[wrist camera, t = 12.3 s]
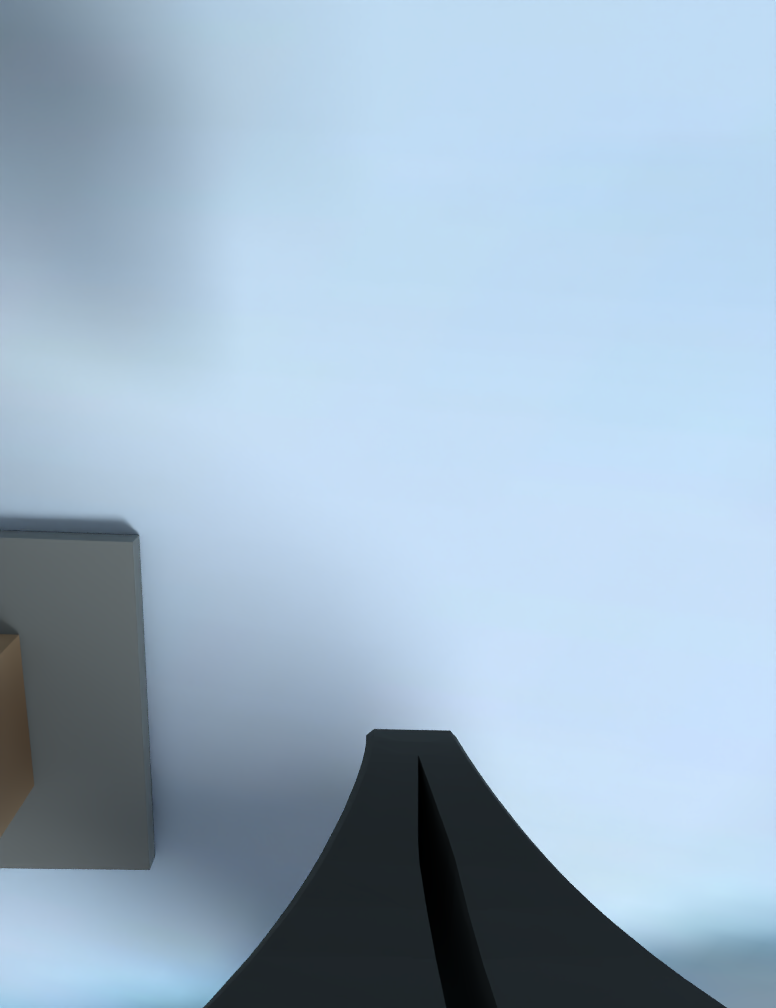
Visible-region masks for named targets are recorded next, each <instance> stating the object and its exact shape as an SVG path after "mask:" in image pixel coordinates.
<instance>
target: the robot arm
mask: <svg viewBox="0 0 776 1008" xmlns="http://www.w3.org/2000/svg"><path fill="white" fill-rule="evenodd" d="M203 1008H726V1007H725V1006H724V1005H722V1004H721V1003H719V1002H718V1001H716V1000H715V999H713V998H712V997H711V996H709V995H708V994H706V993H705V992H703V991H702V990H700V989H699V988H697V987H696V986H695V985H693V984H692V983H690V982H689V981H687V980H686V979H684V978H683V977H682V976H680V975H679V974H678V973H676V972H675V971H674V970H672V969H671V968H670V967H668V966H667V965H666V964H664V963H663V962H662V961H660V960H659V959H658V958H656V957H655V956H654V955H652V954H651V953H650V952H649V951H647V950H646V949H645V948H644V947H642V946H641V945H640V944H639V943H638V942H636V941H635V940H634V939H633V938H631V937H630V936H629V935H628V934H626V933H625V932H624V931H623V930H622V929H620V928H619V927H618V926H617V925H615V924H614V923H613V922H612V921H611V920H610V919H609V918H607V917H606V916H605V915H604V914H603V913H602V912H601V911H599V910H598V909H597V908H596V907H595V906H594V905H593V904H592V903H591V902H590V901H589V900H588V899H587V898H585V897H584V896H583V895H582V894H581V893H580V892H579V891H578V890H577V889H576V888H575V887H574V886H573V885H572V884H571V883H570V882H569V881H568V880H567V879H566V878H565V877H564V876H563V875H562V874H561V873H560V872H559V871H558V870H557V869H556V868H555V867H554V865H553V864H552V863H551V862H550V861H549V860H548V859H547V858H546V857H545V856H544V854H543V853H542V852H541V851H540V850H539V849H538V848H537V846H536V845H535V844H534V843H533V842H532V841H531V840H530V839H529V837H528V836H527V835H526V834H525V833H524V831H523V830H522V829H521V828H520V826H519V825H518V824H517V823H516V822H515V820H514V819H513V818H512V816H511V815H510V814H509V813H508V811H507V810H506V809H505V807H504V806H503V805H502V804H501V802H500V801H499V800H498V798H497V797H496V796H495V794H494V793H493V792H492V790H491V789H490V788H489V786H488V785H487V783H486V782H485V781H484V779H483V778H482V776H481V775H480V773H479V772H478V770H477V769H476V768H475V766H474V765H473V763H472V762H471V760H470V759H469V757H468V756H467V754H466V752H465V751H464V749H463V748H462V746H461V744H460V743H459V741H458V740H457V738H456V737H455V736H454V735H453V733H452V732H451V731H439V730H390V729H374V730H372V731H371V732H370V733H369V734H367V735H366V748H365V753H364V757H363V761H362V764H361V767H360V770H359V773H358V776H357V779H356V782H355V784H354V787H353V789H352V792H351V794H350V796H349V799H348V801H347V803H346V806H345V808H344V811H343V813H342V815H341V817H340V819H339V821H338V823H337V825H336V827H335V829H334V831H333V833H332V834H331V836H330V838H329V840H328V842H327V844H326V846H325V848H324V850H323V852H322V853H321V855H320V857H319V859H318V860H317V862H316V864H315V865H314V867H313V869H312V870H311V872H310V874H309V875H308V877H307V879H306V880H305V882H304V883H303V885H302V886H301V888H300V889H299V891H298V892H297V894H296V895H295V897H294V898H293V900H292V901H291V903H290V904H289V906H288V907H287V908H286V910H285V911H284V912H283V914H282V915H281V916H280V918H279V919H278V921H277V922H276V923H275V925H274V926H273V927H272V929H271V930H270V931H269V933H268V934H267V935H266V937H265V938H264V939H263V940H262V942H261V943H260V944H259V945H258V947H257V948H256V949H255V950H254V952H253V953H252V954H251V955H250V956H249V958H248V959H247V960H246V961H245V962H244V963H243V964H242V965H241V967H240V968H239V969H238V970H237V971H236V972H235V973H234V974H233V976H232V977H231V978H230V979H229V980H228V981H227V982H226V983H225V984H224V986H223V987H222V988H221V989H220V990H219V991H218V992H217V993H216V995H215V996H214V997H213V998H212V999H211V1000H210V1001H209V1002H208V1003H207V1004H206V1005H205V1006H204V1007H203Z"/></svg>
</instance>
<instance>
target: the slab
mask: <svg viewBox="0 0 776 1008" xmlns="http://www.w3.org/2000/svg"><path fill="white" fill-rule="evenodd" d="M33 787H34V777H33V767H32V757H31V747H30V738H29V728H28V718H27V708H26V698H25V688H24V678H23V668H22V658H21V649H20V639H19V635H12V634H0V838H1V836H2V835H3V833H4V832H5V830H6V828H7V827H8V825H9V824H10V822H11V821H12V819H13V818H14V816H15V815H16V813H17V811H18V810H19V808H20V807H21V805H22V804H23V802H24V801H25V799H26V798H27V796H28V794H29V793H30V791H31V790H32V788H33Z"/></svg>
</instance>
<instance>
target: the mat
mask: <svg viewBox="0 0 776 1008" xmlns="http://www.w3.org/2000/svg"><path fill="white" fill-rule="evenodd" d="M0 634H12V635H19V639H20V649H21V658H22V668H23V678H24V688H25V698H26V708H27V718H28V728H29V738H30V747H31V757H32V767H33V777H34V787H33V788H32V790H31V791H30V793H29V794H28V796H27V798H26V799H25V801H24V802H23V804H22V805H21V807H20V808H19V810H18V811H17V813H16V815H15V816H14V818H13V819H12V821H11V822H10V824H9V825H8V827H7V828H6V830H5V832H4V833H3V835H2V836H1V838H0V868H32V869H123V870H150V868H151V865H152V862H153V859H154V856H155V849H154V829H153V809H152V788H151V768H150V747H149V727H148V707H147V686H146V666H145V646H144V625H143V605H142V584H141V564H140V544H139V535H123V534H94V533H65V532H35V531H6V530H0Z"/></svg>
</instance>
